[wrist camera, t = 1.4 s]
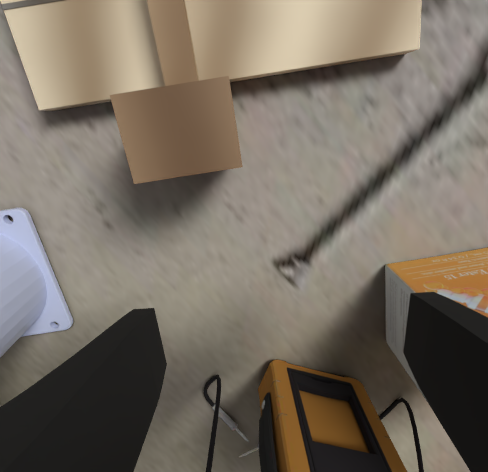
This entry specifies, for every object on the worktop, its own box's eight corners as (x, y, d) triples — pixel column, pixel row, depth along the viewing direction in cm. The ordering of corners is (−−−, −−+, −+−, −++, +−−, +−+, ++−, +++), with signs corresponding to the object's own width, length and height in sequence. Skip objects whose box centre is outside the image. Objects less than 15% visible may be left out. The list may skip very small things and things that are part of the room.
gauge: (165, 162, 17) (134, 183, 11) (124, -15, 14) (55, -102, 9) (238, 151, 17) (242, 166, 11) (211, -29, 14) (198, -126, 9)
